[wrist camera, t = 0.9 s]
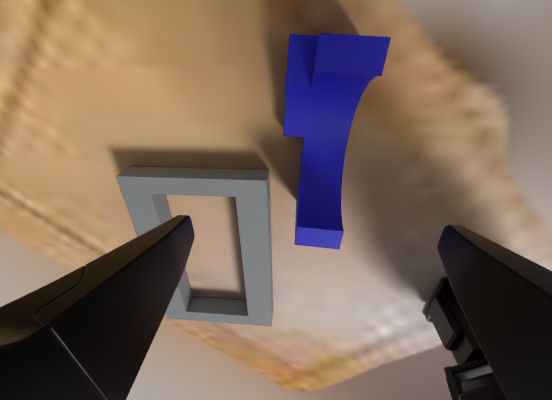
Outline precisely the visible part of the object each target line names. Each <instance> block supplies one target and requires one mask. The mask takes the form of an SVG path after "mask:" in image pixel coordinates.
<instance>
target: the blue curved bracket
mask: <svg viewBox="0 0 552 400" xmlns="http://www.w3.org/2000/svg"><path fill="white" fill-rule="evenodd" d="M390 38H391V37H376V36H360V35H344V34H328V33H320V34H319V35H318V36H312V35H296V34H289V46H288V60H287V75H286V93H285V117H284V133H283V136H292V137H304V140H303V148H302V157H301V166H300V175H299V184H298V192H297V202H296V225H295V245H303V246H313V247H322V248H332V249H340V245H341V240H342V236H343V232H344V231H343V225H342V216H341V184H342V172H343V164H344V157H345V151H346V145H347V140H348V136H349V131H350V127H351V123H352V120H353V117H354V113H355V110H356V108H357V105H358V102H359V100H360V98H361V95H362V93H363V91H364V89H365V88H366V86H367V85H368V83H369V82H370V81H371V80H372V79H373V78H374V77H376V76H382V71H383V67H384V63H385V59H386V55H387V51H388V47H389V43H390Z"/></svg>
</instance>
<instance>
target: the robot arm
mask: <svg viewBox="0 0 552 400" xmlns="http://www.w3.org/2000/svg"><path fill="white" fill-rule="evenodd" d="M193 241H194V230H193V226H192V221H191V218H190V217H189V216H187V215H178V216H176V217H174V218H172V219H170V220H168V221H166V222H165V223H163V224H161V225H159V226H157V227H155V228H153V229H152V230H150V231H148V232H146V233H144V234H142V235H140V236H138V237H137V238H135V239H133V240H131V241H129V242H127V243H125V244H124V245H122V246H120V247H118V248H116V249H114V250H112V251H110V252H109V253H107V254H105V255H103V256H101V257H99V258H97V259H95V260H94V261H92V262H90V263H88V264H86V266H82V267H80V268H79V269H77V270H75V271H73V272H71V273H69V274H67V275H65V276H64V277H61V278H60V279H58V280H56V281H54V282H52V283H50V284H48V285H46V286H44V287H42V288H39V289H37V290H35V291H33V292H31V293H29V294H27V295H25V296H23V297H21V298H19V299H16V300H14V301H12V302H10V303H8V304H6V305H4V306H2V307H0V400H126V398H127V396H128V394H129V392H130V389H131V387H132V385H133V383H134V381H135V378H136V376H137V374H138V371H139V370H140V367H141V365H142V363H143V361H144V358H145V356H146V354H147V352H148V350H149V348H150V345H151V343H152V341H153V339H154V336H155V334H156V332H157V330H158V328H159V326H160V323H161V321H162V319H163V317H164V315H165V312H166V310H167V308H168V306H169V304H170V301H171V299H172V297H173V295H174V293H175V290H176V288H177V286H178V284H179V282H180V279H181V277H182V274H183V272H184V269H185V266H186V263H187V259H188V256H189V253H190V250H191V247H192V244H193ZM438 251H439V254H440V257H441V260H442V262H443V265H444V268H445V271H446V274H447V276H448V277H446V278H444V279H442V281H441V283H440V285H439V287H438V290H437V292H436V294H435V296H434V298H433V300H432V302H431V305H430V307H429V309H428V312H427V314H426V319H427V321H428V322H431V323H433V324H434V326H435V328H436V330H437V333H438V335H439V337H440V339H441V341H442V343H443V345H444V347H445V348H446V349H447V350H450V351H451V352H452V354H453V356H454V358H455V360H456V362H457V364H458V365H455V366H452V367H451V366H448V367H445V368H444V370H445V373H446V377H447V378H446V380H447V383H448V387H449V390H450V393H451V396H452V400H552V271H550V270H548V269H546V268H544V267H542V266H540V265H538V264H536V263H534V262H532V261H530V260H528V259H526V258H524V257H522V256H520V255H518V254H516V253H514V252H513V251H511V250H509V249H507V248H505V247H503V246H501V245H499V244H497V243H495V242H493V241H491V240H489V239H487V238H485V237H483V236H481V235H479V234H477V233H475V232H473V231H471V230H469V229H467V228H465V227H463V226H460V225H447V226H445V228H444V230H443V232H442V235H441V237H440V240H439V242H438Z"/></svg>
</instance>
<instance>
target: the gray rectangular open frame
mask: <svg viewBox="0 0 552 400" xmlns="http://www.w3.org/2000/svg"><path fill="white" fill-rule="evenodd" d="M116 178H117V181H118V183H119V186H120V189H121V192H122V194H123V197H124V200H125V203H126V205H127V208H128V211H129V214H130V216H131V219H132V222H133V225H134V227H135V230H136V233H137V236H140V235H142V234H144V233H146V232H148V231H150V230H152V229H153V228H155V227H157V226H159V225H161V224H163V223H165V222H166V221H168V220H170V219H172V217H171V213H170V209H169V205H168V201H167V198H166V194H170V195H198V196H227V197H236V206H237V216H238V225H239V234H240V244H241V253H242V262H243V272H244V281H245V290H246V300H233V299H219V298H204V297H193V296H192V292H191V288H190V284H189V280H188V277H187V273H186V269H184V272H183V274H182V277H181V279H180V282H179V284H178V286H177V288H176V290H175V293H174V295H173V297H172V299H171V301H170V304H169V306H168V308H167V310H166V312H165V313H166V315H167V318H169V319H182V320H195V321H208V322H220V323H233V324H246V325H259V326H272V317H273V285H272V250H271V214H270V178H269V170H255V169H216V168H177V167H138V166H130V167H129V168H127V169H126V170H124V171H123V172H121V173H120V174H119V175H117V176H116Z"/></svg>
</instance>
